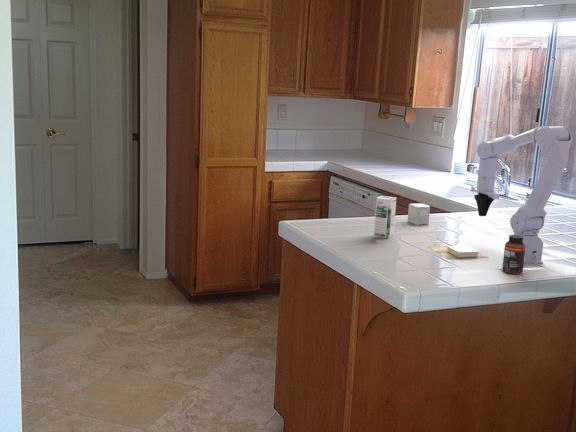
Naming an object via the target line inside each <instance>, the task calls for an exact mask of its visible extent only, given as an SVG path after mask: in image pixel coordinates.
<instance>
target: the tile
mask: <svg viewBox="0 0 576 432" xmlns="http://www.w3.org/2000/svg"><path fill="white" fill-rule="evenodd" d="M447 246H448V247H447V252H448V253H450V254H452V255H453V256H455V257H457V258H471V257H477V255H478V253H479V251H478V250H477V249H474V248H472V247H470V246H468V245H465V246H461V245H447Z"/></svg>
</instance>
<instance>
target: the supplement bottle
mask: <svg viewBox="0 0 576 432" xmlns="http://www.w3.org/2000/svg"><path fill="white" fill-rule="evenodd" d="M522 241H523V236H520V235H514V234H509V236H508V241H506V242H505V244H504V249H503V257H502V258H503V259H502V267H501V269H502V271H503V272H504V273H506V274H510V275H521V274H522V273H523V272H524V271H523V270H524V264H525V263H524V256H525V244H524V243H523V242H522Z"/></svg>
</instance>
